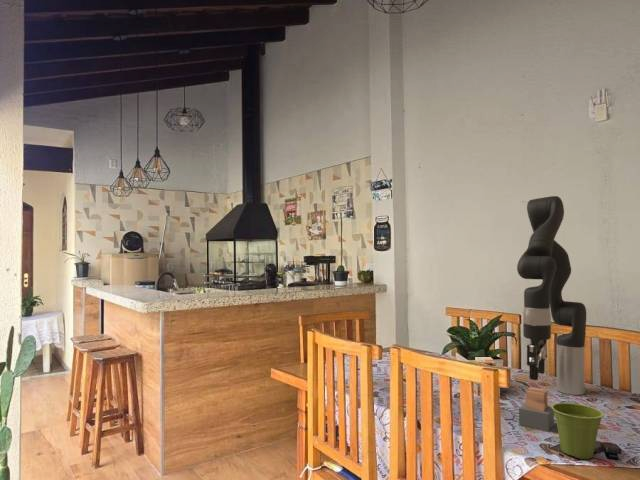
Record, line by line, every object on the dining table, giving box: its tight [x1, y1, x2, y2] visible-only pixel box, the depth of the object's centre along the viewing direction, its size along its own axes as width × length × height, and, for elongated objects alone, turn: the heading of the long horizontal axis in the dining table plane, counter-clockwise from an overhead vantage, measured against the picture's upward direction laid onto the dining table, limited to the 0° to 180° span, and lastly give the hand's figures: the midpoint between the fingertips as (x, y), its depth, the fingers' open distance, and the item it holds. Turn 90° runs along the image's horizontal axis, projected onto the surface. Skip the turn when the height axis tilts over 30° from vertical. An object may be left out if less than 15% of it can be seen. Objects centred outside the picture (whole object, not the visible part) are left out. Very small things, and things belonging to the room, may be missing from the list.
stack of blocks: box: [473, 356, 497, 396], centre depth 177 cm, size 21×6×12 cm, turn 171°
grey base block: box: [518, 401, 555, 432], centre depth 139 cm, size 8×8×5 cm
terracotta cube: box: [525, 387, 549, 412], centre depth 139 cm, size 5×5×5 cm
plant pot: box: [550, 402, 604, 460], centre depth 119 cm, size 12×12×11 cm
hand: (537, 376), depth 139 cm, fingers open, 8 cm apart
